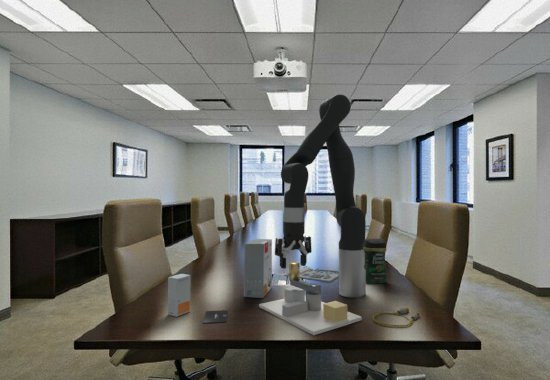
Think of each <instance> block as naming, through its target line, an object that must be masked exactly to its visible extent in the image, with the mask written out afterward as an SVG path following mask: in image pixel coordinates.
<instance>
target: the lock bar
mask: <svg viewBox="0 0 550 380" xmlns="http://www.w3.org/2000/svg"><path fill="white" fill-rule="evenodd" d="M300 268H301V265H300V263H299V261H298V262H297V261H295V262H294V261H292V262H289V264H288V271H289V272H288V273H289V276H288V280H289V285H290V286H291V287H298V288H300V289H303V290H305V293H306V292H307V293H310V294H318V293H321V294H322V284H320V283H314V282H313V283H312V282H309V281H306V280H304V279H301V278H300Z"/></svg>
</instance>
